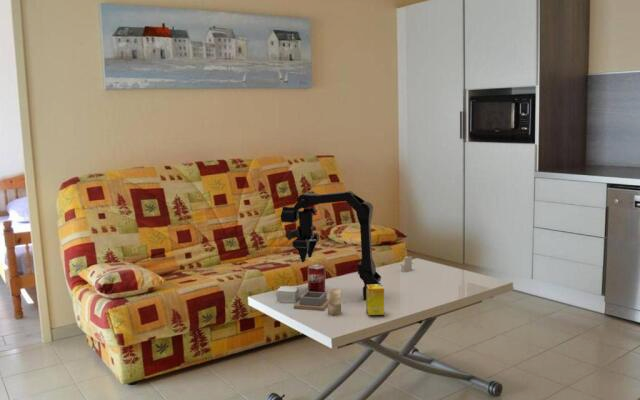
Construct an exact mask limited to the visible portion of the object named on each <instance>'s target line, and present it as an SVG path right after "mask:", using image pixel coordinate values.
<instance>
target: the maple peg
mask: <svg viewBox="0 0 640 400" xmlns="http://www.w3.org/2000/svg"><path fill="white" fill-rule="evenodd" d="M327 299H328V307H327V314H328V316H333V317H334V316H335V317H336V316H337V317H338V316H341V315H342V290H341V289H339V288H330V289H328V290H327Z"/></svg>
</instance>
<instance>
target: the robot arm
mask: <svg viewBox="0 0 640 400" xmlns="http://www.w3.org/2000/svg"><path fill="white" fill-rule="evenodd" d="M341 202H346V203H347V204H348V205H349V206H350V207H351V208H352V209H353V210H354V211H355V212H356V218H357V220H358V223H359V229H360V249H361V250H360V251H361V260H360V261H359V262H358V263H357V275H359V279H360V280H362V281H363V284H364V286H363V287H362V297H363V298H362V299H363V300H365V301H366V285H369V284H381V285H382V283H381V279H382V276H381V275H380V274H379V273H378V271H377V268H376V265H375V262H374V259H373V249H372V228H371V227H372V225H371V223H372V218H373V213H374V206H373V204H372V203H371V202H369V201H365V200H364V199H363V198H361V197H360V196H358V195H357V194H356V193H354V192H353V191H351V190H347V191H343V192H342V191H341V192H332V193H330V192H329V193H320V194H319V193H314V192H305V193H302V194H300V195H299V196H298V197H297V199H296V203H295V204H294V206H287V205H284V206H283V207H282V209H281V214H280V221H281V222H282V223H284V224H285V223H287V224H289V223H292V224H296V223H297V222H298V226H296V229H293V230H292V229H289V230H286V231H285V238H287V241H291V240H293V239H294V240H293V241H292V247H293V248H294V249H295V250H297V252H298V254H299V259H300V261H301V263H305V261H306V259H307V257H308V258H310V259H311V257H312V256H313V253H314V251H315V248H316V246H317V244H318V242H319V240H320V235H319V233H318V232H314V228H315V224H314V222H313V219H314V218H313V217H314V215H313V214H316V213H318V210H317V209H316V208H315V207H314V206H317V205H320V204H322V205H323V204H331V203H341ZM302 209H303V210H302Z"/></svg>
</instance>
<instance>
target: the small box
mask: <svg viewBox="0 0 640 400" xmlns="http://www.w3.org/2000/svg"><path fill="white" fill-rule="evenodd" d="M299 287H300V286H297V285H296V286H292V285H280V287H278V289H277V290H276V303H277V302H280V303H279V304H296V303H297V302H298V300H299V297H300V295H299Z"/></svg>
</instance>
